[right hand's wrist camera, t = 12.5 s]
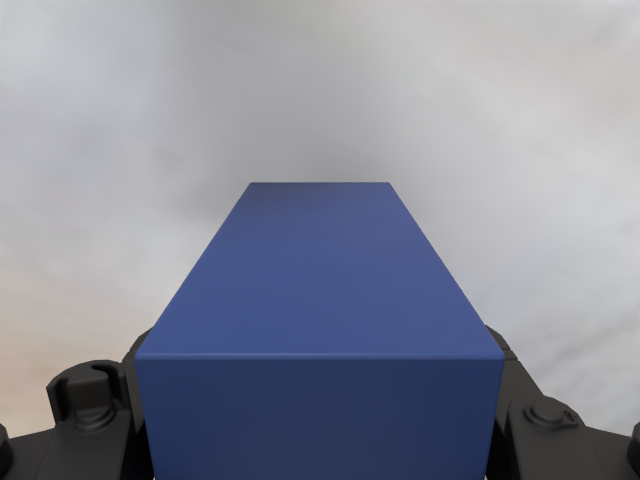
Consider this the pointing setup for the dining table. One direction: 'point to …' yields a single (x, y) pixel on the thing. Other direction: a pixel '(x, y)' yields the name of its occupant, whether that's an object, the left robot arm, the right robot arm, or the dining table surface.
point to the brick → (319, 349)
